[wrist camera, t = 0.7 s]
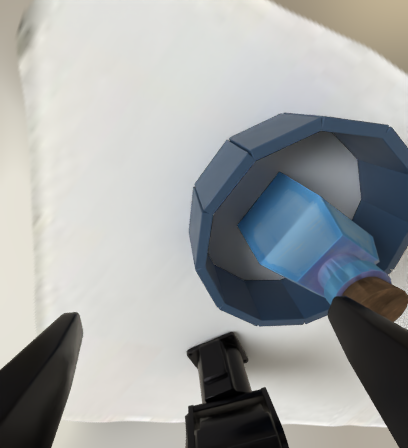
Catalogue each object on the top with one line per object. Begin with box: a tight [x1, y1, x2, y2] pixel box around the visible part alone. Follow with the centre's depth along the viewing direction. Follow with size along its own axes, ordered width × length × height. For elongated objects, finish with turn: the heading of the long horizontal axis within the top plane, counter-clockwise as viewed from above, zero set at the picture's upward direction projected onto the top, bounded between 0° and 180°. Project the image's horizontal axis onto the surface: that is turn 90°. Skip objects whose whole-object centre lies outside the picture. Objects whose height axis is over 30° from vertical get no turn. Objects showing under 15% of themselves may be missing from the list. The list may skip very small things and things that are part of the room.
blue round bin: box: [189, 113, 408, 326], centre depth 21 cm, size 18×18×6 cm
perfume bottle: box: [237, 172, 408, 322], centre depth 18 cm, size 6×6×12 cm
